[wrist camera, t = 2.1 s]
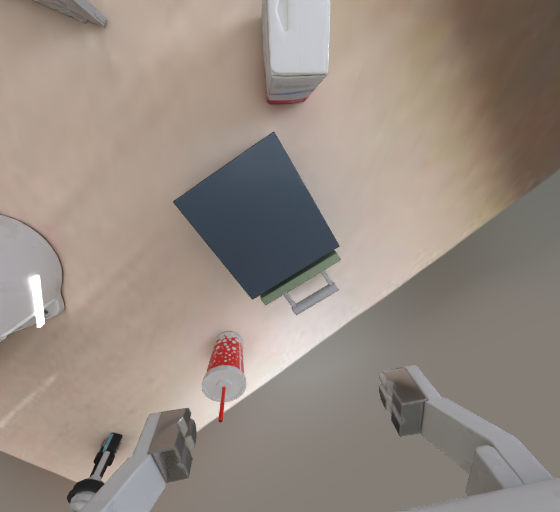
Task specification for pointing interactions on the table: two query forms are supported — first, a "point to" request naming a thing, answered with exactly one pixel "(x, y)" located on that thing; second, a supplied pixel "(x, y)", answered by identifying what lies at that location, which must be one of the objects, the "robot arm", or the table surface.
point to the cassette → (76, 10)
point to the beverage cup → (225, 371)
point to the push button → (94, 475)
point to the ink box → (294, 47)
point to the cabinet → (258, 217)
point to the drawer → (301, 278)
